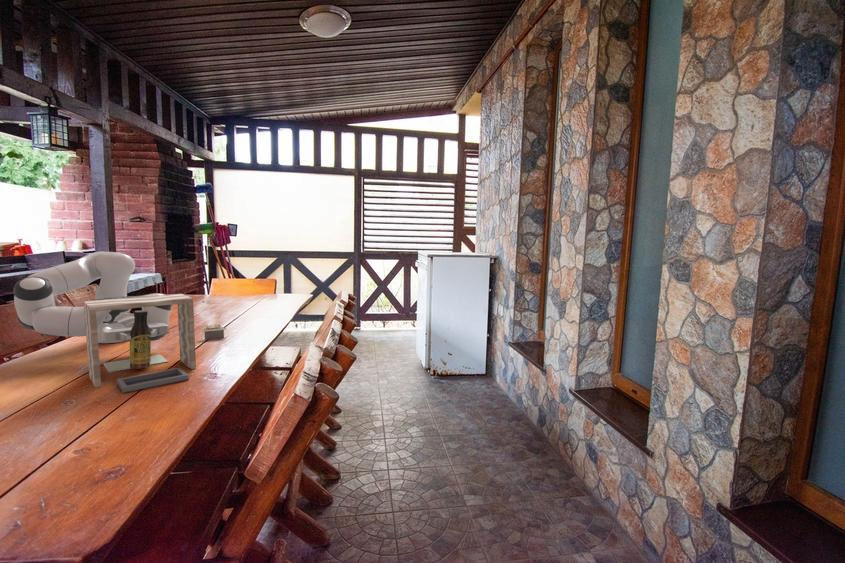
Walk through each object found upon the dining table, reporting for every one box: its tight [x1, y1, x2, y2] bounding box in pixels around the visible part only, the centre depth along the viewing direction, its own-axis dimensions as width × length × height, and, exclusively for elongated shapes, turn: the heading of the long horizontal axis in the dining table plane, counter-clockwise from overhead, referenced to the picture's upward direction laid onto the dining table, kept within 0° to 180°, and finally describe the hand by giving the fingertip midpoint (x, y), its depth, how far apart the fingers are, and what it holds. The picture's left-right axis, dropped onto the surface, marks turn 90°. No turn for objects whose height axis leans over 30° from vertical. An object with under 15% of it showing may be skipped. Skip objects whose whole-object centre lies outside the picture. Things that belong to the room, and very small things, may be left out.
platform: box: [201, 324, 227, 341], centre depth 196 cm, size 12×18×7 cm, turn 121°
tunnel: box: [83, 293, 197, 389], centre depth 148 cm, size 14×29×26 cm, turn 134°
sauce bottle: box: [129, 310, 152, 370], centre depth 151 cm, size 6×6×20 cm
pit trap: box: [116, 367, 189, 394], centre depth 140 cm, size 10×18×2 cm, turn 134°
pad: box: [102, 353, 169, 373], centre depth 159 cm, size 12×18×1 cm, turn 134°
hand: (141, 336), depth 150 cm, fingers closed on sauce bottle, 6 cm apart
